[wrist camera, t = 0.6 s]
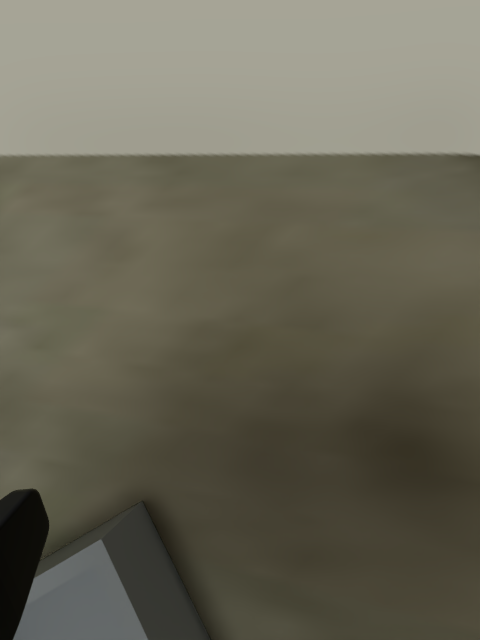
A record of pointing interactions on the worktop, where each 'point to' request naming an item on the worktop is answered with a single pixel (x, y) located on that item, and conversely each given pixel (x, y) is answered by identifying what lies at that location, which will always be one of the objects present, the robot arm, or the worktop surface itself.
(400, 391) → the worktop surface
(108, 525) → the tote
